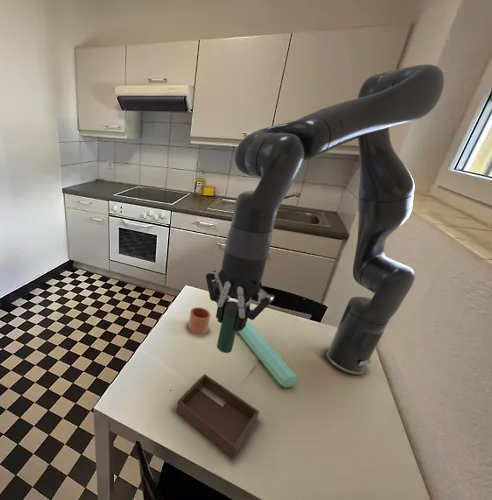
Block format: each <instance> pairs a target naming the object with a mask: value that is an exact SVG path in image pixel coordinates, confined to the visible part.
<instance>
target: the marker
mask: <svg viewBox="0 0 492 500" xmlns="http://www.w3.org/2000/svg"><path fill="white" fill-rule="evenodd" d="M238 316H239V307H238V301H235V300H229V301H228V302H226V303H225V308H224V314H223V319H222V323H220V329H219V334H218V338H217V342H216V348H217V350H218V351H220V352H221V353H223V354H229V353H231V352H232V350H233V347H234V344H235V343H234V342H235V338H236V335H237V332H236V331H234V329H235V325H236V321H237V317H238Z"/></svg>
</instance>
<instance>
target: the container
mask: <svg viewBox="0 0 492 500" xmlns="http://www.w3.org/2000/svg"><path fill="white" fill-rule="evenodd" d="M238 334H239V335H240V337H242V339H243V340H244V342H245V343H246V344H247V345H248V346H249V348H250V349H251V351H252V352H254V354H255V355H256V356H257V358H258V359H259V360H260V362H261V363H262V364H263V365H264V366H265V368H266V369H267V370H268V371H269V373H270V374H271V375H272V377H273V378H274V379H275V380H276V382H277V383H278V384H279V385H280V386H281V387H284V388H290V387H292V386H294V385H295V384H296V383H297V380H298V377H297V374H296V373H295V372H294V371H293V370H292V369H291V367H290V366H289V365H288V364H287V363H286V362H285V361H284V360H283V359H282V357H281V356H280V355H279V354H278V353H277V351H275V349H273V347H272V346H271V345H270V344H269V343H268V342H267V341H266V340H265V338H264V337H263V336H262V335H261V334H260V333H259V332H258V330H256V328H255V327H254V325H252V324H251V322H249V318H248V319H247V322H246V326H245V328H244V329H243V330H241V331H239V332H238Z"/></svg>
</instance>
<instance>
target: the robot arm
mask: <svg viewBox="0 0 492 500" xmlns="http://www.w3.org/2000/svg"><path fill="white" fill-rule="evenodd" d="M444 85H445V76H444V72H443V70H442V69H441V68H440V67H439V66H437V65H434V64H417V65H412V66H407V67H402V68H397V69H394V70H387V71H384V72H383V71H382V72H380V73H376V74H373V75H370V76H369V77H367V78H366V80H365V81H364V82H363V83H362V84H361V86H360V89H359V91H358V93H357V97H356V98H354V99H351V100H346V101H343V102H339V103H335V104H332V105H329V106H326V107H324V108H321V109H318V110H316V111H313V112H311V113H308V114H307V115H304V116H302V117H300V118H297V119H295V120H292V121H288V122H284V123H280V124H276V125H271V126H268V127H264V128H261V129H258V130H255V131H253V132H251V133H249V134H248V135H246V136H245V137H244V138H243V139H242V140H241V141H240V142H239V143H238V145H237V146H236V148H235V152H234V164H235V166H236V168H237V170H238V171H240V173H242V174H244V175H246V176H250V177H254V178H259V179H260V180H259V182H258V184H257V186H256V187H255V189H254V190H247V191H246V190H245V191H242V192H240V193H239V194H238V196H237V197H236V200H235V204H234V208H233V214H232V218H231V223H230V227H229V230H228V232H227V236H226V240H225V247H224V252H223V258H222V261H221V262H222V263H221V269H220V270H219V271H216V270H212V271H210V272H208V273H207V274H205V280H206V284H207V290H208V294H209V299H210V301H212V302H215V303H216V305H217V309H216V314H215V318H216V319H217V323H219V324H221V323H222V319H223V314H224V308H225V303H226V302H228V301H230V299H231V297H232V298H234V299H235V300H237V303H238V307H239V316H238V317H237V321H236V325H235V329H234V331H236V333H239V331H241V330H243V329H244V328H245V326H246V322H247V319H248V320H251V321H254V320H255V319H256V318H257V317H258V316H259V315H260V314H261V313H262V312H263V311H264V310H265V309H266V308H267V307H268V306H269V305H270V304H271V303H272V302H273V301H274V300H275V298H276V297H275V295H274V293H268V292H266V291H265V290H264V289H263V284H262V280H263V276H264V272H265V268H266V264H267V261H268V256H269V252H270V249H271V245H272V240H273V231H274V228H275V224H276V220H277V217H278V211H279V208H280V206H281V205H282V203H283V201H284V199H285V198H286V196H287V194H288V192H289V191H290V189H291V187H292V186H293V184H294V182H295V180H296V178H297V177H298V176H299V173H300V171H301V170H302V167H303V164H304V161H310V160H313V159H315V158H317V157H320V156H322V155H324V154H325V153H328V152H330V151H332V150H335V149H336V148H339V147H340V146H343V145H345V144H347V143H349V142H352V141H354V140H356V139H357V141H358V153H359V184H358V202H357V203H358V208H357V209H358V210H357V211H358V212H357V213H358V221H357V222H358V227H357V238H356V239H357V240H356V247H355V253H354V259H353V265H352V277H353V280H354V281H355V282H356V283H357V284H358V285H359V286H362V287H363V288H365V289H366V290H368V291H370V292H372V293H374V294H373V295H372V297H366V296H353V297H351V298H350V299H349V300H348V302H347V305H346V307H345V309H344V312H343V314H342V317H341V319H340V321H339V324H338V326H337V329H336V331H335V333H334V336H333V338H332V340H331V343H330V346H329V347H328V350H327V351H326V355H325V356H326V359H327V360H328V361H329V363H330V364H331V365H332V366H333V367H335V368H336V369H338V370H340V371H342V372H343V373H347V374H350V375H354V376H355V375H363V374H364V373H365V371H366V369H367V365H370V363H371V361H372V359H371V358H372V356H373V354H374V352H375V351H376V349H377V346H378V344H379V342H380V340H381V338H382V336H383V334H384V332H385V330H386V328H387V326H388V324H389V323H390V320H391V319H392V318H393V316H394V315H395V314H396V313H397V312H398V310H399V308H400V307H401V306H402V303H403V301H404V300H405V298H406V297H407V295H408V293H409V292H410V291H411V288H412V287H413V284H414V282H415V280H416V279H415V278H416V277H415V276H416V274H415V270H414V269H413V268H412V267H410V266H408V265H405V264H404V263H401V262H399V261H397V260H394V259H392V258H390V257H387V256H386V253H385V248H386V247H385V246H386V241H387V239H388V237H389V236H390V235H391V234H393V233H394V232H395V231H396V230H398V228H400V227H401V226H402V225H403V224H404V223H405V222H406V221H407V220H408V219H409V216H410V215H411V213H412V211H413V203H414V194H415V181H414V178H413V177H412V174H411V173H410V171H409V169H408V168H407V166H406V165H405V164H404V162H403V161H402V159H401V158H400V156H399V155H398V154H397V152H396V151H395V148H394V147H393V144H392V141H391V136H390V128H391V127H394V126H397V125H401V124H405V123H406V124H407V123H411V122H415V121H419V120H420V119H422V118H424V117H425V116H427V115H428V114H430V113H431V112H432V111H433V109H434V108H435V107H436V106H437V104H438V103H439V101H440V99H441V97H442V95H443V91H444ZM219 282H220V283H219ZM220 285H221V286H222V287H220ZM221 288H222V290H221ZM256 295H258V297H257V303H259V304H258V305H256V306H255V307H254V309H251V303H252V297H254V296H256Z"/></svg>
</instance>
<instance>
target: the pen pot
mask: <svg viewBox="0 0 492 500" xmlns="http://www.w3.org/2000/svg"><path fill="white" fill-rule="evenodd" d="M210 319H211V313H210V311H209V310H208V309H206V308H204V307H198V306H197V307H193V308H192V309H190V313H189V318H188V324H187V325H188V326H187V327H188V329H189V331H190V332H191V333H193V334H196V335H205V334H206V333H207V332H208V330H209V325H210Z"/></svg>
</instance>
